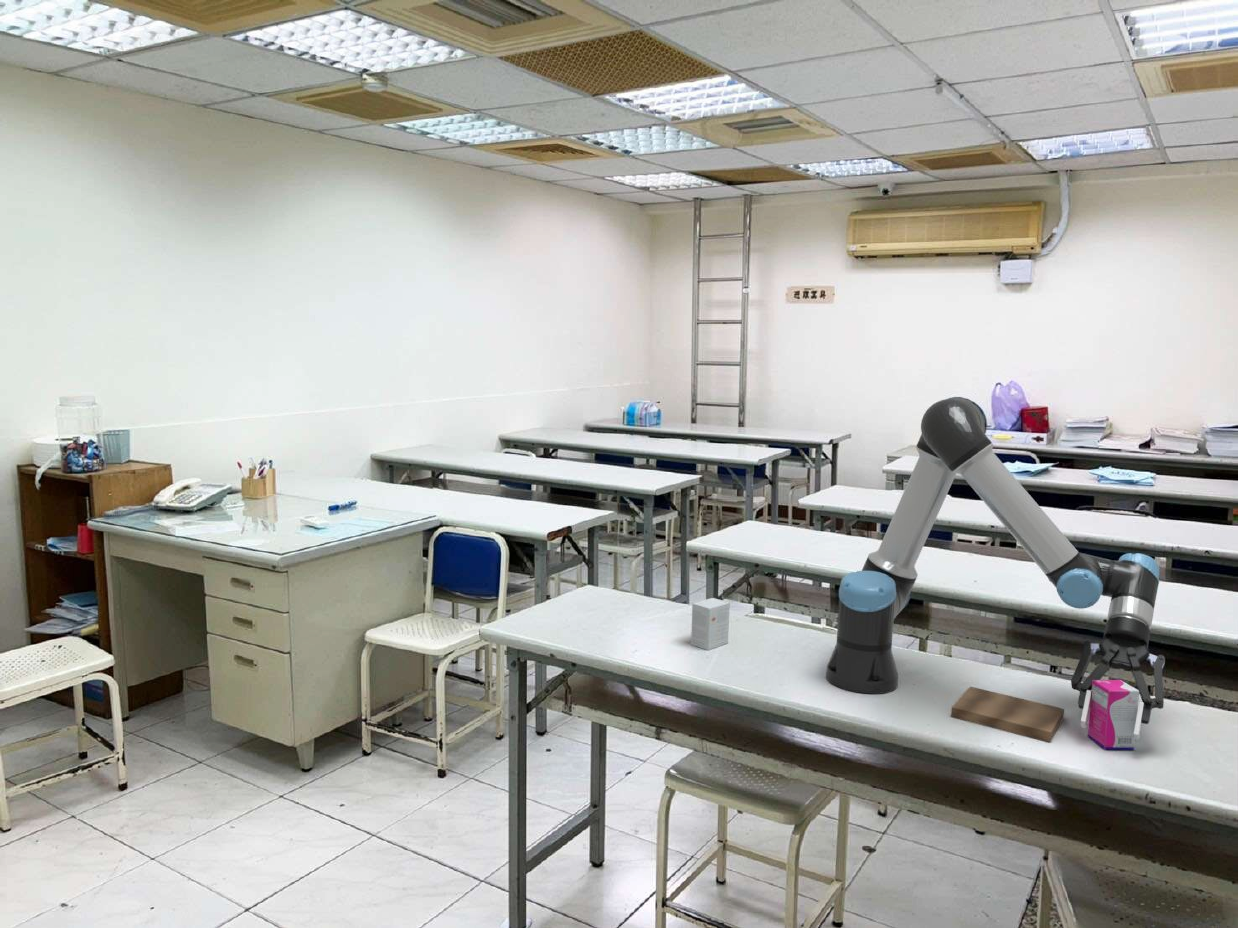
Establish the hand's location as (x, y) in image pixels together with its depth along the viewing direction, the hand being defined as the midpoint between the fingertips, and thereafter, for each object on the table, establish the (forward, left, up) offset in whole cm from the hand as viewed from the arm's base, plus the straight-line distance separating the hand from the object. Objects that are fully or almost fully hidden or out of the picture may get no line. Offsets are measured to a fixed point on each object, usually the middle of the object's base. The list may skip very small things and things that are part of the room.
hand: (1109, 730), depth 158 cm
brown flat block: (-18, +3, -4) cm, 19 cm away
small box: (-86, +2, -4) cm, 86 cm away
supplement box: (0, +3, -4) cm, 5 cm away
